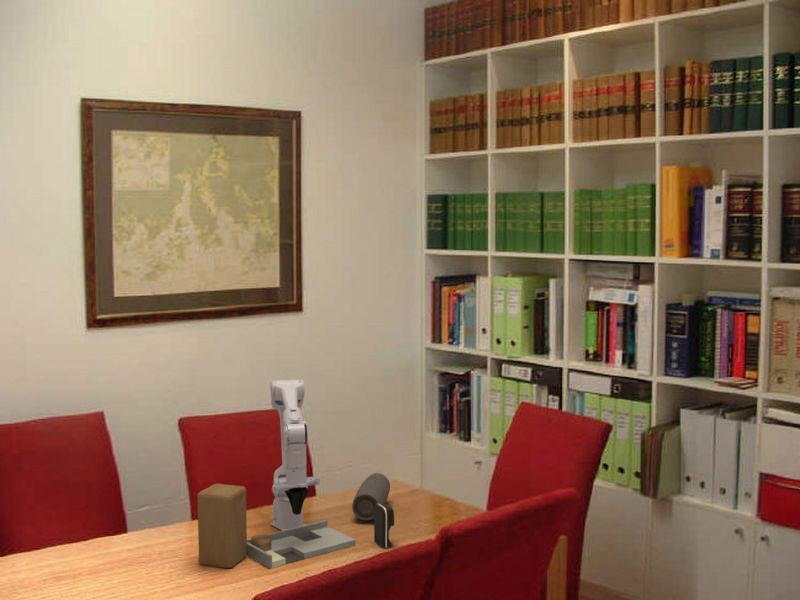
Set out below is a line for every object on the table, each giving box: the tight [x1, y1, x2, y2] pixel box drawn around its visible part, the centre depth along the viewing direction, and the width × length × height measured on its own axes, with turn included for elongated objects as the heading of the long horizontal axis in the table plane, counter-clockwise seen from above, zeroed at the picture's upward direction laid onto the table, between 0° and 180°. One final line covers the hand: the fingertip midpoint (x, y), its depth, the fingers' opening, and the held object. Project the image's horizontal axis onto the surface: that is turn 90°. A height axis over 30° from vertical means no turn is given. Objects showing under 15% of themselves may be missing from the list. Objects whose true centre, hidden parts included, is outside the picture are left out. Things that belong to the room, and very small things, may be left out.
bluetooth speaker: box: [351, 472, 391, 521], centre depth 308 cm, size 23×9×10 cm, turn 172°
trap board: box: [246, 520, 356, 569], centre depth 277 cm, size 15×28×3 cm, turn 128°
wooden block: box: [197, 483, 248, 569], centre depth 267 cm, size 10×10×20 cm
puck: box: [250, 534, 271, 552], centre depth 273 cm, size 6×6×3 cm
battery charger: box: [373, 503, 395, 549], centre depth 280 cm, size 7×4×11 cm, turn 25°
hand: (296, 513), depth 277 cm, fingers closed
